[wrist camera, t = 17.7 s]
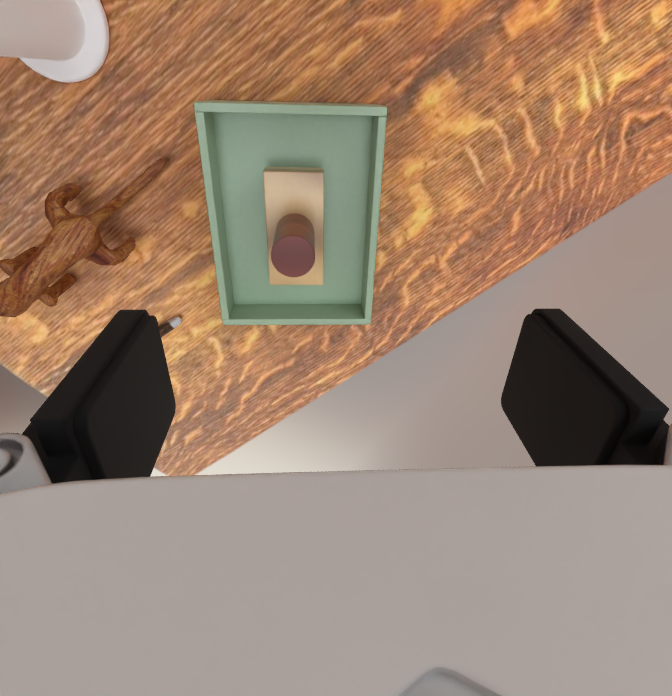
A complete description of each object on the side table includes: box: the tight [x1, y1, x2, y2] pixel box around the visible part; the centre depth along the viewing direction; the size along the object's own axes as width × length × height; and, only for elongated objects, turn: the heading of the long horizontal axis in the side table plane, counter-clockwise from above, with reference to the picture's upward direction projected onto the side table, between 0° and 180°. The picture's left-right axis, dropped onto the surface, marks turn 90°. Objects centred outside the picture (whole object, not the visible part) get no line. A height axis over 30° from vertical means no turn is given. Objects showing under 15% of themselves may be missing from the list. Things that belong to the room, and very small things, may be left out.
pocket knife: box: [159, 317, 182, 337], centre depth 42 cm, size 14×1×2 cm, turn 120°
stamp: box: [263, 167, 324, 285], centre depth 33 cm, size 9×4×9 cm, turn 179°
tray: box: [194, 100, 387, 325], centre depth 35 cm, size 17×13×4 cm
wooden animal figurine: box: [0, 159, 166, 317], centre depth 31 cm, size 18×7×14 cm, turn 127°
